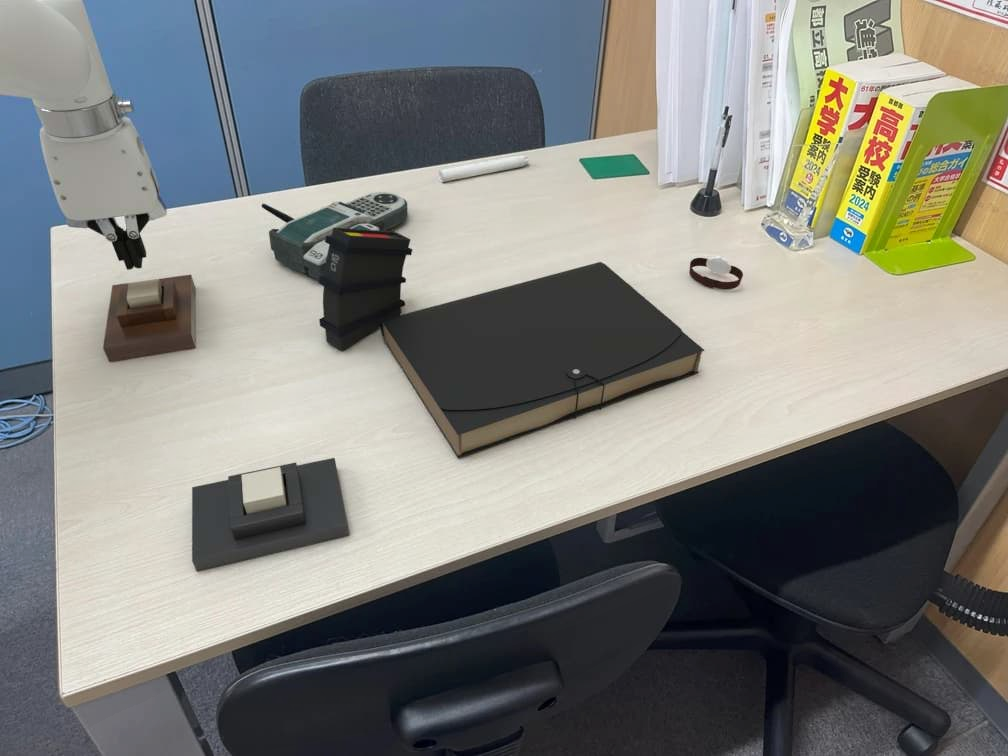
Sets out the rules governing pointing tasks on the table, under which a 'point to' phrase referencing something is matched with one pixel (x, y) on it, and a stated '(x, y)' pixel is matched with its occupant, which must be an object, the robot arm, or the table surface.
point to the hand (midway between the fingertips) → (135, 262)
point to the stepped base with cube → (267, 516)
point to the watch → (716, 272)
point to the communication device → (331, 228)
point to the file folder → (536, 354)
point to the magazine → (361, 282)
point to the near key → (263, 490)
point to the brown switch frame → (151, 321)
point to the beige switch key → (144, 293)
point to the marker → (482, 168)
